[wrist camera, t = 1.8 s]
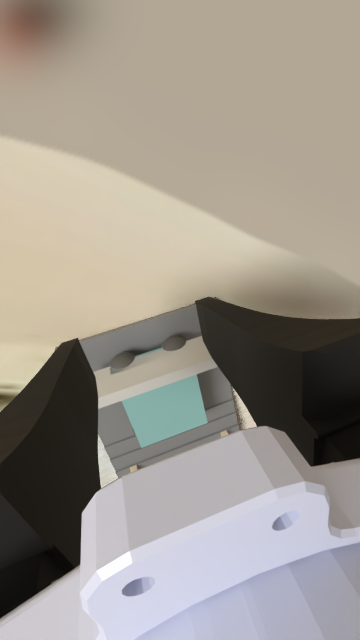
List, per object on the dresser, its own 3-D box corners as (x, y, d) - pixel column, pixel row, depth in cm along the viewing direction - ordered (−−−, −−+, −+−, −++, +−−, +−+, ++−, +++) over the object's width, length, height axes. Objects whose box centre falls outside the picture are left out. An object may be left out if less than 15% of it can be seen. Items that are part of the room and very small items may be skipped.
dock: (141, 514, 31) (144, 536, 29) (55, 347, 20) (51, 365, 18) (242, 472, 33) (252, 490, 31) (215, 297, 22) (227, 309, 20)
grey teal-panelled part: (119, 435, 25) (124, 480, 21) (83, 358, 20) (81, 398, 17) (216, 399, 26) (237, 435, 22) (201, 320, 22) (223, 349, 18)
